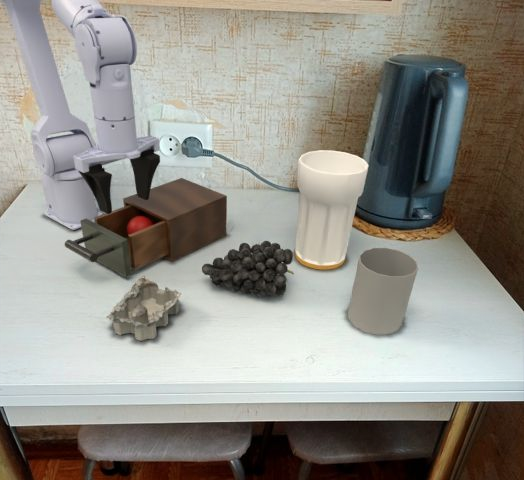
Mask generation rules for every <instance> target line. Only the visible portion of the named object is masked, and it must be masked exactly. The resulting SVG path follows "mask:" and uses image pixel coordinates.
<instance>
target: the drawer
mask: <svg viewBox="0 0 524 480" xmlns="http://www.w3.org/2000/svg"><path fill="white" fill-rule="evenodd" d="M137 216H144V217H147V218H148V219H150V220H153V224H154V225H152V226H149V227H147V228H144V229H142V230H140V231H137V232H135V233H132V234H130V235H128V233H127V226H128V223H129V222H130V220H131V219H133V218H135V217H137ZM94 221H95V222H92V221H90V220H88V219H83V220H80V222H81V233H82V237H80V238H77V239H74V240H71V239H67V240H66V241H65V242H64V247H65V248H66V249H68V250H69V251H71V252H73V253H74V254H77V255H78V256H80V257H82V258H84V259H85V260H87V261H89V262H91V263H96V262H98V263H100V264H102V265H103V266H105V267H107V268H109V269H111V270H112V271H113V272H116V273H117V274H119V275H121V276H122V277H125V278H128V277H130V276H132V275H133V272H132V269H133V270H134V271H136V270H138V269H140V268H143V267H145V266H147V265H149V264H151V263H153V262H156V261H158V260H160V259H163V258H162V257H164V256H166V255H168V254H169V246H168V231H167V222H166V221H164V220H162V219H160V218H157V217H155V216H153V215H151V214H149V213H147V212H144V211H142V210H140V209H138V208H136V207H134V206H131V205H127V206H125V207H124V206H122V207H120V208H119V207H118V208H116V209H114V210H112V213H110V214H106V213H103V215H100V216H97V217H95V218H94ZM83 243H84V246H83V245H81V244H83Z"/></svg>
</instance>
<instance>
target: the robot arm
mask: <svg viewBox="0 0 524 480" xmlns="http://www.w3.org/2000/svg"><path fill="white" fill-rule="evenodd" d="M43 1H44V0H0V3H2V4H3V5H4V8H5V11H6V12H7V15H8V18H9V21H10V23H11V27H12V30H13V33H14V36H15V40H16V43H17V46H18V49H19V51H20V55H21V58H22V61H23V64H24V68H25V71H26V74H27V76H28V80H29V83H30V86H31V89H32V92H33V96H34V98H35V101H36V104H37V107H38V111H39V114H40V118H39V119H38V121H37V123H36V124H35V125H34V126H33V127H32V129H31V131H30V133H29V134H30V140H31V144H32V148H33V149H32V150H33V155H34V156H33V157H34V159H35V162H36V164H37V166H38V168H39V170H40V171H41V172H42V173H43V175H42V179H41V185H42V189H43V194H44V198H45V203H46V207H47V211H44V216H45V217H48V218H49V219H51V220H53V221H55V222H56V223H58V224H60V225H62V226H64V227H66V228H68V229H70V230H72V231H74V230H78V229H80V228H81V229H82V227H81V222H80V220H83V219H88V220H90V221H92V222H94V223H95V221H94V218H95V217H97V216H100V215H103V214H105V213H106V214H110V213H112V211H113V205H112V197H111V186H112V185H111V184H112V178H113V174H112V173H110V172H108V171H106V170H105V169H106V168H104V167H103V166H105V165H108V164H112V163H115V162H119V161H122V160H126V159H129V162H130V164H131V168H132V172H133V176H134V183H135V184H134V185H135V190H136V191H135V192H136V194H137V195H138V197H140V198H142V199H144V200H148V199H149V194H150V189H152V183H153V179H154V176H155V173H156V171H157V169H158V167H159V165H160V163H161V156H160V154H158V153H155V152H159V151H160V139H159V137H156V136H154V135H146V136H145V135H144V136H140V137H137V127H136V116H135V106H134V105H135V104H134V95H133V84H132V74H131V66H132V65H134V63H135V62H136V59H137V56H138V44H137V37H136V34H135V31H134V29H133V26H132V25H131V23H130V22H129V20H128V18H127V17H126V16H124V15H115V13H113V14H110V12H108V10H107V9H106V8H105V7H104V6H103V4H102V3H101V2H100V1H99V0H51V8H52V11H53V13H54V15H55V16H56V18H57V19H58V20H59V21H60V22H61V24H62V25H63V26H64V28H65V29H66V30H67V31H68V33H70V35H71V36H72V38H73V39H74V43H75V49H76V52H77V54H78V58H79V60H80V62H81V66H82V71H83V76H84V78H85V80H86V81H87V82H88V83H89V91H90V94H91V95H90V96H91V105H92V111H93V118H94V124H95V132H96V138H97V144H96V141H95V140H94V138H93V136H92V134H91V131H90V128H89V126H88V123H87V122H85V121H83V120H82V119H80V118H79V117H77V116H76V115H73V114H72V113H71V111H70V107H69V103H68V100H67V97H66V94H65V91H64V88H63V83H62V81H61V77H60V74H59V71H58V67H57V64H56V61H55V60H56V59H55V57H54V54H53V51H52V47H51V43H50V39H49V37H48V34H47V29H46V27H45V24H44V20H43V17H42V14H41V9H40V7H41V3H42V2H43ZM66 132H68V134H63V135H58V136H51V137H49V136H50V135H54V134H59V133H60V134H61V133H66ZM69 132H70V133H69ZM96 203H97V204H96ZM97 205H98V208H99V210H97Z"/></svg>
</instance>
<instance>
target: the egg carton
mask: <svg viewBox="0 0 524 480" xmlns="http://www.w3.org/2000/svg"><path fill="white" fill-rule="evenodd" d="M181 295H182V292H179V291H178V290H176V289H174V290H172V289H170V288H169V287H168V286H165V287H164V289H161V288H159V285H158V283H156V282H155V281H153V280H150V279H148V278H146V276H145V275H143V276H141V278H140V277H139V278H138V279H137V280H136V281H135V282H134V283H133V285H131V289H130V291H128V292H126V293H125V295H124V296H123V298H122V299H121V300H120V301H119V302H117V303H116V304H115V306H114V307H113V309H112V311H110V314H108V315H106V316H105V318H107V319H109V321H111V322H112V328H113V329H114V333H115V334H117V335H119V336H122V335H124V334H133V335H134V337H135V338H134V339H135V340H136V341H140V342H141V341H145V340H154V339H155V338H156V337H157V335H158V333H157V328H158V327H166V326H167V325H168V324H169V315H177V314H178V313H179V312H180V303H179V301H180V300H179V298H180V297H181Z"/></svg>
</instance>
